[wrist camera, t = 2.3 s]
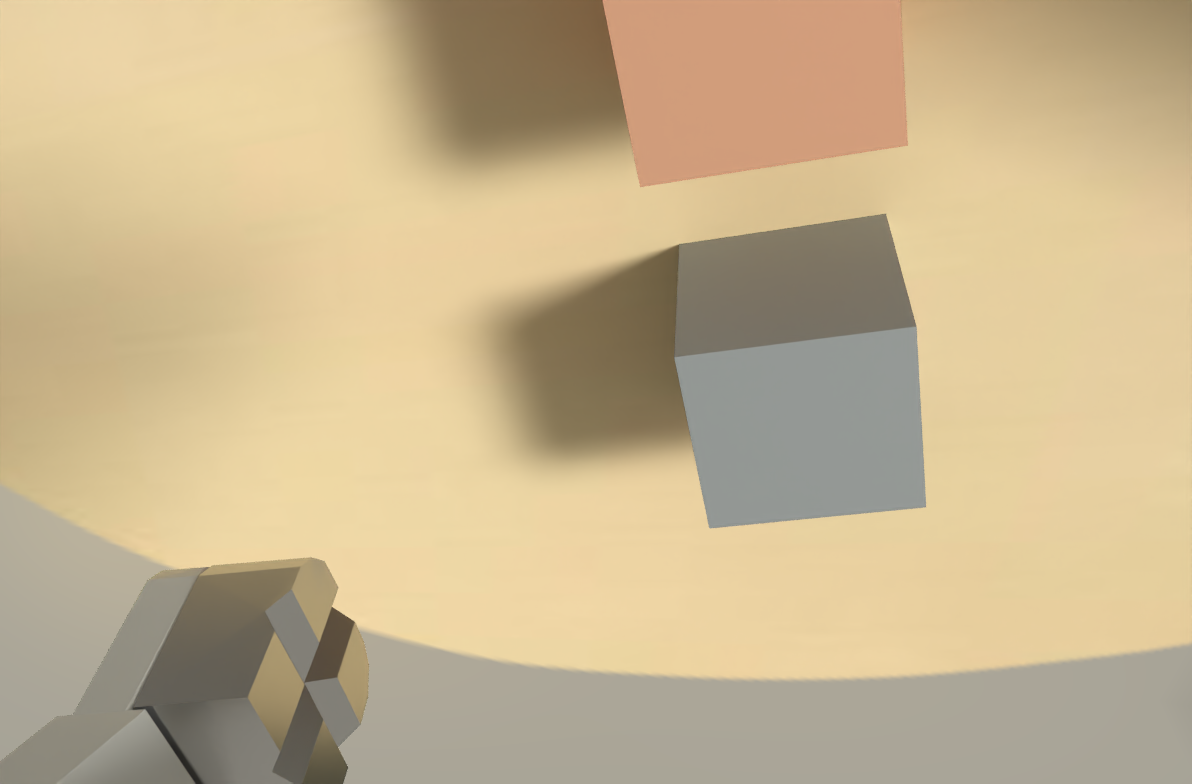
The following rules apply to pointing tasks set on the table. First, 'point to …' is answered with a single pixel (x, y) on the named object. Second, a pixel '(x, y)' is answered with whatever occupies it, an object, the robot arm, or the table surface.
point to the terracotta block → (756, 82)
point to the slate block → (800, 373)
